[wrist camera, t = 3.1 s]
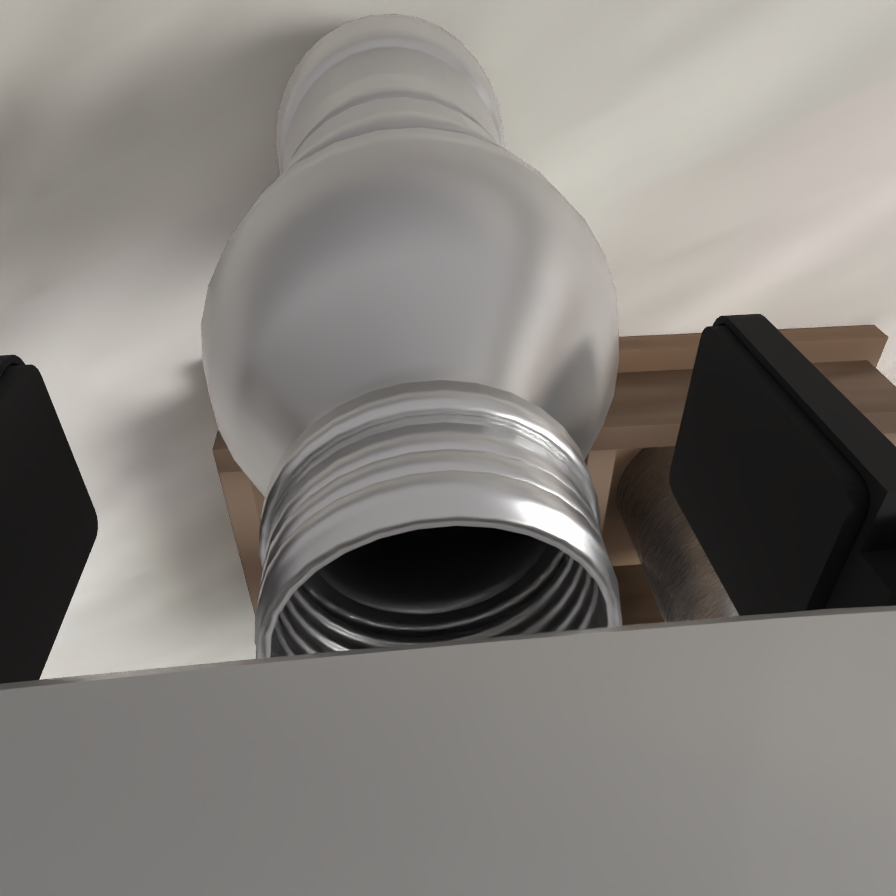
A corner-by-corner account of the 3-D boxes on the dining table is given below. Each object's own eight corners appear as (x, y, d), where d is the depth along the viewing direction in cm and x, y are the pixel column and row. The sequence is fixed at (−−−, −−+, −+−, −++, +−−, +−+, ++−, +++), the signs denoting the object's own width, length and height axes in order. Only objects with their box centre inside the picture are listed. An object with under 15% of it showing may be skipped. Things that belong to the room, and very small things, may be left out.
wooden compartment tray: (213, 356, 27) (190, 426, 24) (874, 325, 29) (945, 385, 25) (270, 602, 36) (260, 680, 32) (777, 566, 38) (820, 637, 34)
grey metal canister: (628, 427, 30) (867, 918, 16) (782, 419, 30) (1151, 886, 16) (607, 541, 34) (781, 1013, 20) (743, 532, 34) (1010, 987, 20)
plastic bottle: (272, 205, 24) (90, 812, 8) (301, -31, 20) (65, 259, 4) (458, 247, 25) (608, 831, 10) (519, 35, 22) (935, 430, 6)
